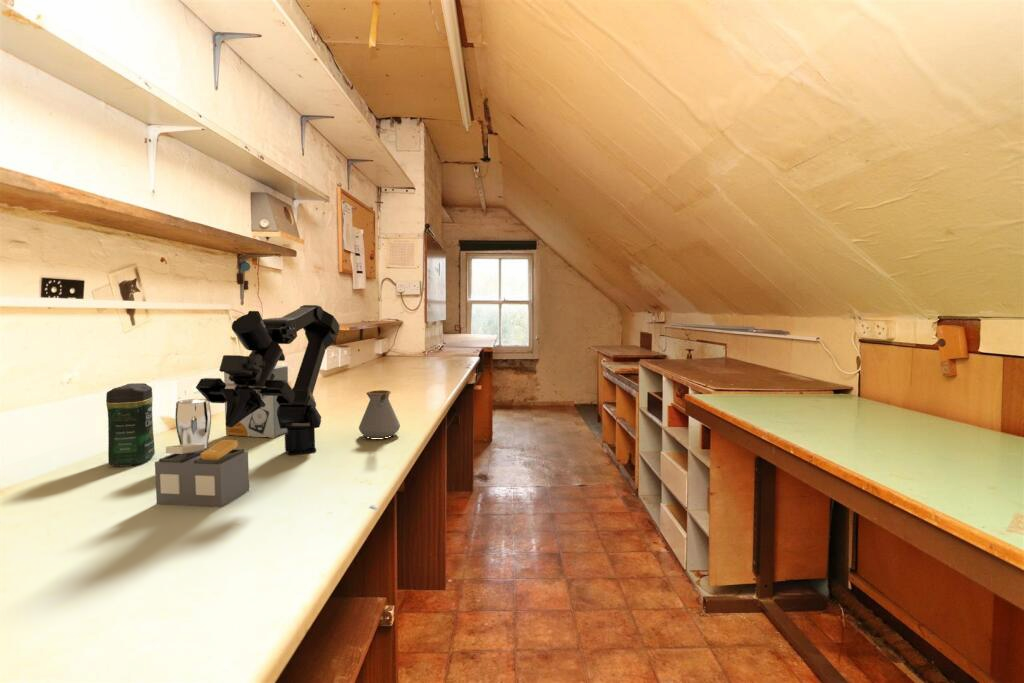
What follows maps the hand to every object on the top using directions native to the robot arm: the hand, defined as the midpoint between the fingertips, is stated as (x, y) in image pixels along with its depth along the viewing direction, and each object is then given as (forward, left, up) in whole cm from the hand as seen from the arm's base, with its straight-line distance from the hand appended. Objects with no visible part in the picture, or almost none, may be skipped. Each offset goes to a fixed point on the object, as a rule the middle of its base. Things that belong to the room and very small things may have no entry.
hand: (228, 426), depth 95 cm
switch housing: (+4, 0, -13) cm, 14 cm away
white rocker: (+7, -2, -4) cm, 8 cm away
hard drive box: (-7, -48, -14) cm, 50 cm away
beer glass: (+7, -24, -14) cm, 28 cm away
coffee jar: (+20, -34, -14) cm, 42 cm away
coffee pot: (-36, -24, -14) cm, 45 cm away
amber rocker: (+1, +2, -4) cm, 5 cm away
